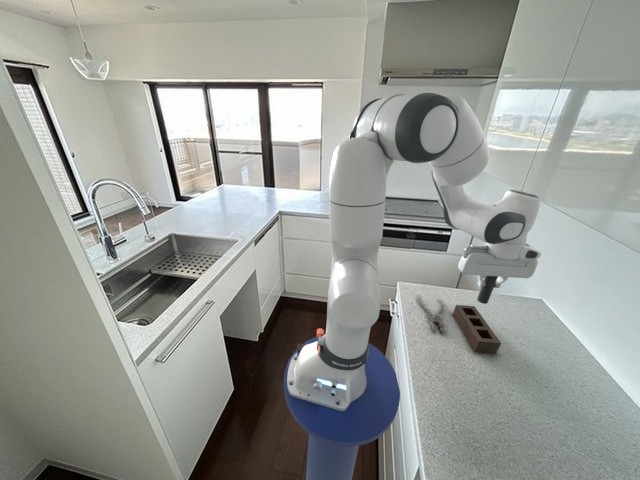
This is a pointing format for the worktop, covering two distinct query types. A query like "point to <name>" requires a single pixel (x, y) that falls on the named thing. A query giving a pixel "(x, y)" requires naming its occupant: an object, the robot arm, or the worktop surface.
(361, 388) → the robot arm
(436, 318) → the pliers
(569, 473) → the worktop surface
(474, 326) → the holder
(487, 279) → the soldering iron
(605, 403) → the worktop surface
